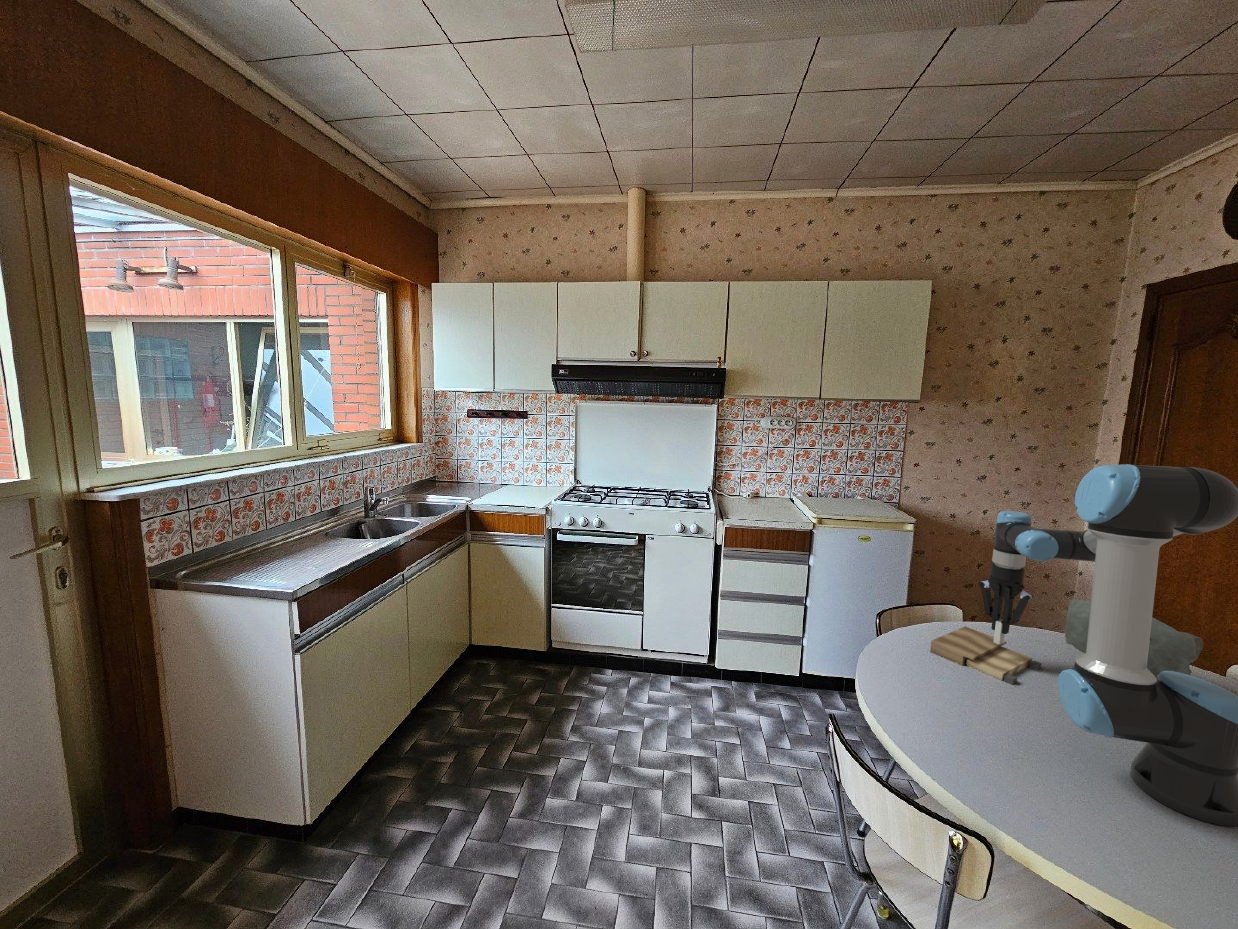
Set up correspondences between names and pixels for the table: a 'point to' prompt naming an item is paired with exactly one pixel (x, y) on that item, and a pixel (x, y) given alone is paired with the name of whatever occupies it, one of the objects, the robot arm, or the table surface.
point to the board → (963, 645)
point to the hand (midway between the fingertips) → (998, 642)
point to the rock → (1164, 646)
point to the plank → (1000, 662)
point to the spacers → (1013, 679)
